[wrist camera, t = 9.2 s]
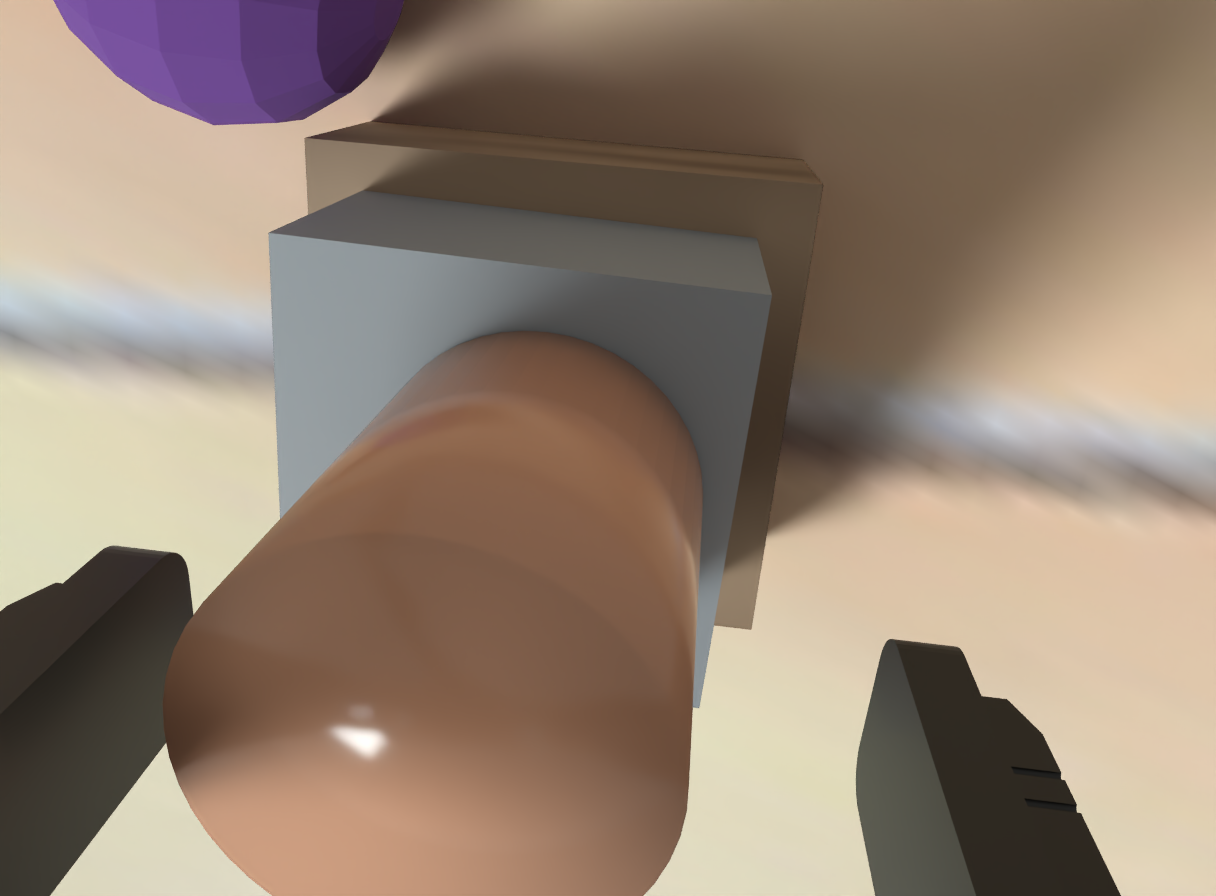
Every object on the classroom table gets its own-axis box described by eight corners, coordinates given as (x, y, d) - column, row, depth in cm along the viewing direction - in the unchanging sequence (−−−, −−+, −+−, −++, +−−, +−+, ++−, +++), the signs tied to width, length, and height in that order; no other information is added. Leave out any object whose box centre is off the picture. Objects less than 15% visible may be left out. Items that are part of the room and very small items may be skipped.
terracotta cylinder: (373, 310, 14) (135, 495, 8) (725, 353, 13) (725, 576, 8) (376, 608, 16) (187, 916, 10) (681, 651, 15) (655, 995, 10)
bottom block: (376, 119, 20) (304, 137, 17) (801, 157, 20) (823, 185, 16) (384, 497, 24) (326, 580, 20) (744, 537, 23) (750, 630, 20)
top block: (363, 190, 17) (268, 232, 13) (756, 238, 17) (771, 295, 13) (363, 535, 20) (286, 648, 16) (699, 581, 19) (699, 708, 16)
